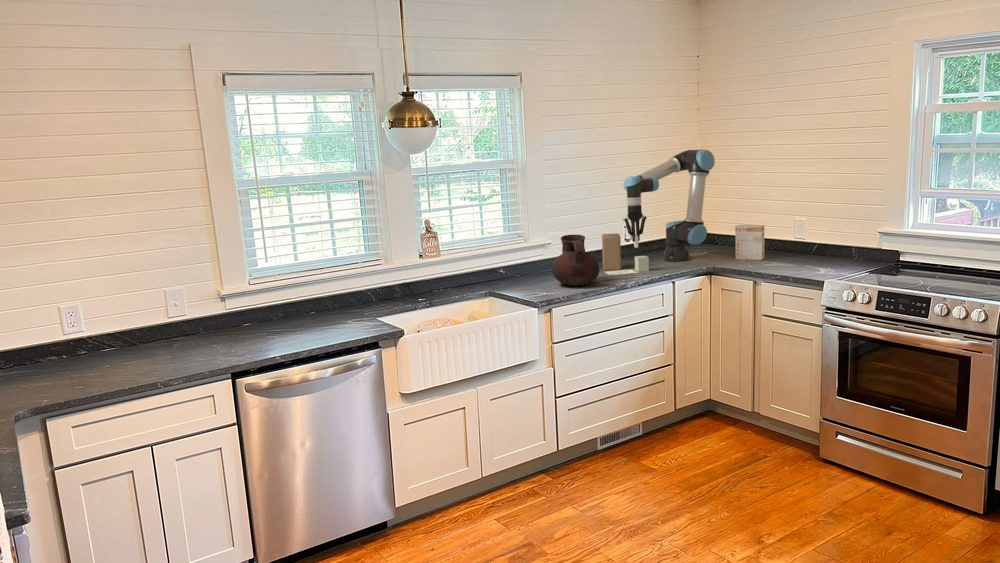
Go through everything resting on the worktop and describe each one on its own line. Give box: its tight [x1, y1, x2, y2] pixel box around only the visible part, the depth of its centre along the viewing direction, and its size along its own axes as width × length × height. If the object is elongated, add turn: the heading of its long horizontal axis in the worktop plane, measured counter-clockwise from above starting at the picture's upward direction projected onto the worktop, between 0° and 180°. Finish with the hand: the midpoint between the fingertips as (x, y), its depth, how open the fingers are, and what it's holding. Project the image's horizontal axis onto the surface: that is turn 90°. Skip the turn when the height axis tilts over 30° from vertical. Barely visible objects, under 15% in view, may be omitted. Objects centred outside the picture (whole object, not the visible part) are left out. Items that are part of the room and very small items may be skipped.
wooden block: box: [601, 233, 622, 271], centre depth 422 cm, size 10×10×20 cm
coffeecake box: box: [734, 224, 765, 261], centre depth 428 cm, size 15×7×20 cm, turn 59°
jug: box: [551, 234, 600, 287], centre depth 385 cm, size 25×25×25 cm
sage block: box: [634, 255, 650, 273], centre depth 413 cm, size 6×6×8 cm
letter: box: [604, 269, 639, 276], centre depth 412 cm, size 16×11×1 cm
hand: (636, 247), depth 411 cm, fingers closed
